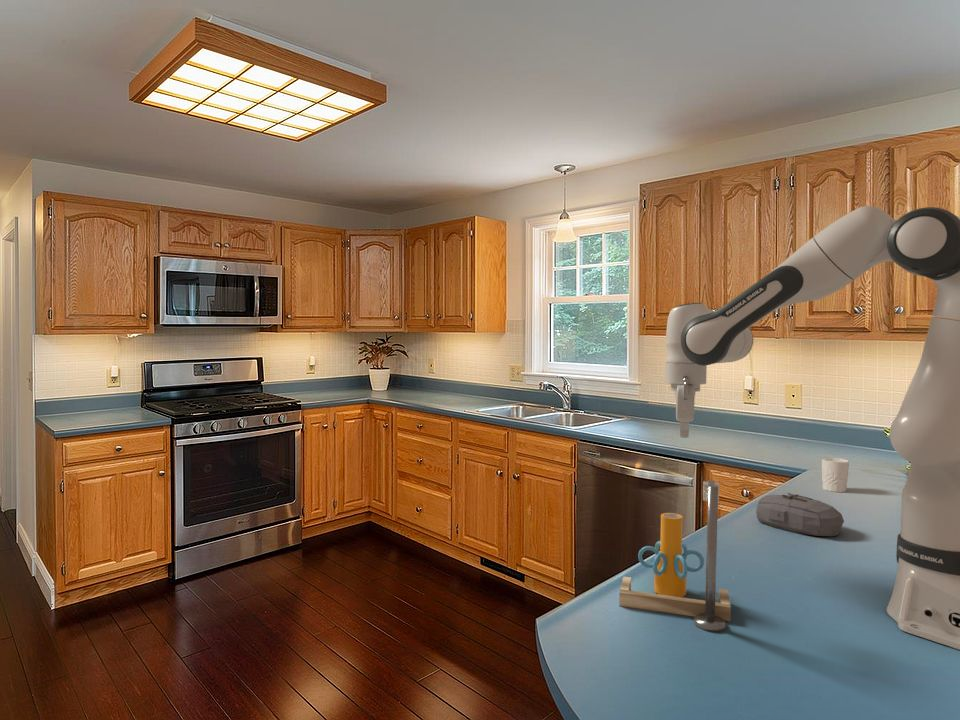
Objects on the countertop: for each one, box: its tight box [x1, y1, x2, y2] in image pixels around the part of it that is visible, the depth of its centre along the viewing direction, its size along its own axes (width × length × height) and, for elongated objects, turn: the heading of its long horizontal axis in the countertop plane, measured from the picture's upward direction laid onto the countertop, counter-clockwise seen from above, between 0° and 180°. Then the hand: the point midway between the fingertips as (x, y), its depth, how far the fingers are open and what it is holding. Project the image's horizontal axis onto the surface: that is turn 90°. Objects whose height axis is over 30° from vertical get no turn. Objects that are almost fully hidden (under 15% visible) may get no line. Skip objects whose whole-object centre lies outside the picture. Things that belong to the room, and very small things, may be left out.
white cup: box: [821, 457, 850, 493], centre depth 203 cm, size 8×8×10 cm
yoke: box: [618, 576, 732, 622], centre depth 114 cm, size 8×19×2 cm, turn 72°
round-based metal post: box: [693, 479, 726, 633], centre depth 108 cm, size 11×5×24 cm, turn 162°
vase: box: [637, 512, 705, 598], centre depth 119 cm, size 12×10×15 cm
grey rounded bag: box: [755, 492, 845, 537], centre depth 162 cm, size 15×8×20 cm
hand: (684, 436), depth 139 cm, fingers closed
